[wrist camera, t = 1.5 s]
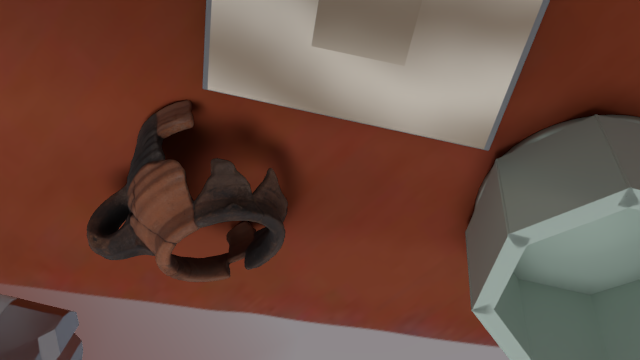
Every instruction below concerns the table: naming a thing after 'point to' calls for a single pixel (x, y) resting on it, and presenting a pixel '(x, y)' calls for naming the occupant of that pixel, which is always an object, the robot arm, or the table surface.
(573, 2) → the table surface
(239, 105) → the table surface
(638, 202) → the ceramic bowl
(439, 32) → the birch lid
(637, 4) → the table surface
